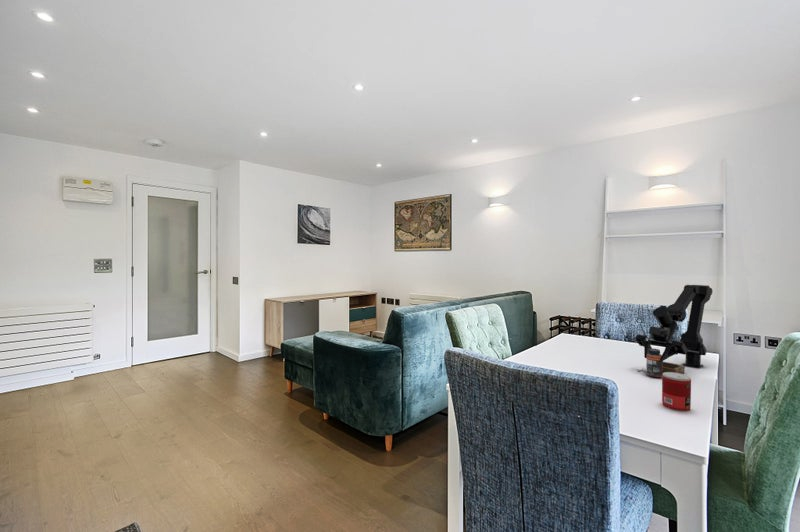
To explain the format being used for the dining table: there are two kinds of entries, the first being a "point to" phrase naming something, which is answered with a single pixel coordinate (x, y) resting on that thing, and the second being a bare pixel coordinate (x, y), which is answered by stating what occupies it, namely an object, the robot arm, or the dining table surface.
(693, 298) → the robot arm
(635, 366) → the dining table surface
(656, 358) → the supplement bottle
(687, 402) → the canned food
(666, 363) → the walnut socket holder
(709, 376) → the dining table surface
